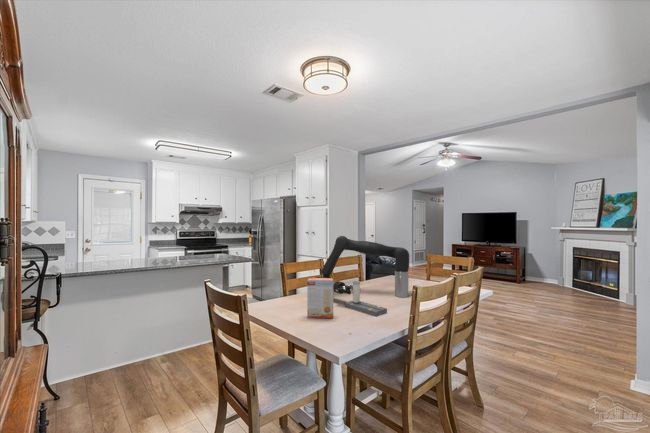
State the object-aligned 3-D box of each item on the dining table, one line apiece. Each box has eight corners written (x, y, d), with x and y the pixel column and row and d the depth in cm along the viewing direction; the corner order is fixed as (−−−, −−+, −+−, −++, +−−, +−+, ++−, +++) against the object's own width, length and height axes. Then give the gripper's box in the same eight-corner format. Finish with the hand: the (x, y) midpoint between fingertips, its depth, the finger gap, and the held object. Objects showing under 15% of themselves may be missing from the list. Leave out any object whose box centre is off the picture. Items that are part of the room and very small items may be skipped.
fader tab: (351, 302, 191) (351, 281, 191) (356, 301, 194) (356, 280, 194) (356, 303, 188) (356, 282, 188) (361, 302, 191) (361, 281, 191)
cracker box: (333, 315, 176) (333, 277, 176) (332, 318, 170) (332, 280, 170) (308, 314, 177) (308, 277, 177) (307, 317, 171) (307, 279, 171)
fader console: (344, 306, 191) (344, 302, 191) (355, 303, 198) (355, 299, 198) (375, 316, 173) (375, 311, 173) (386, 312, 180) (386, 308, 180)
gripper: (328, 282, 199) (347, 287, 187) (344, 279, 208) (363, 283, 196) (328, 294, 199) (347, 299, 187) (344, 290, 209) (363, 295, 196)
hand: (355, 291), depth 192 cm, fingers open, 8 cm apart
